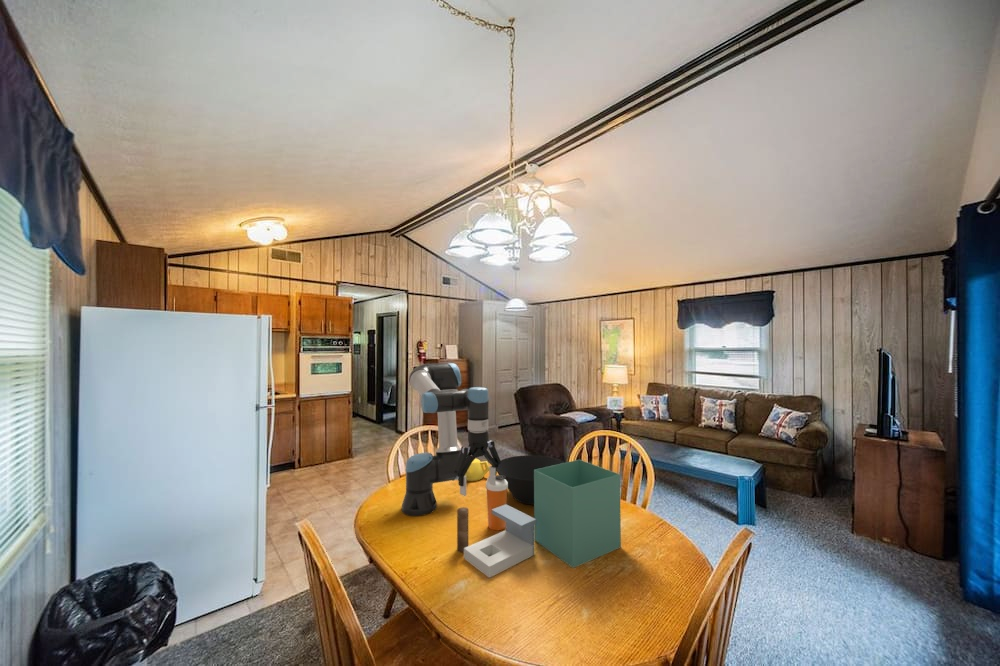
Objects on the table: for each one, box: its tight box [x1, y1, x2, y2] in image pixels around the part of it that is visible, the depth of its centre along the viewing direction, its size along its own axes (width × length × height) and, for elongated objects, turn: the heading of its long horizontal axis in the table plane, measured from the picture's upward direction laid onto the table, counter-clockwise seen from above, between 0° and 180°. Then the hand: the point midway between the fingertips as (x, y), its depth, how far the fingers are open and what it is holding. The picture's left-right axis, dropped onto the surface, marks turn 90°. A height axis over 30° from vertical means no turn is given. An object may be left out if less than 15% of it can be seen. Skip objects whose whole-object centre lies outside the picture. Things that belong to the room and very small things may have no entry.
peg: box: [456, 506, 469, 553], centre depth 134 cm, size 4×4×14 cm
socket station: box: [463, 503, 536, 579], centre depth 130 cm, size 16×20×12 cm
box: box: [533, 459, 622, 569], centre depth 138 cm, size 23×21×26 cm
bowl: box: [497, 454, 566, 505], centre depth 178 cm, size 36×36×15 cm
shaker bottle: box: [485, 474, 508, 531], centre depth 151 cm, size 9×9×20 cm
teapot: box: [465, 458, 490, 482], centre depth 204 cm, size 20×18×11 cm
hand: (478, 489), depth 136 cm, fingers open, 13 cm apart
